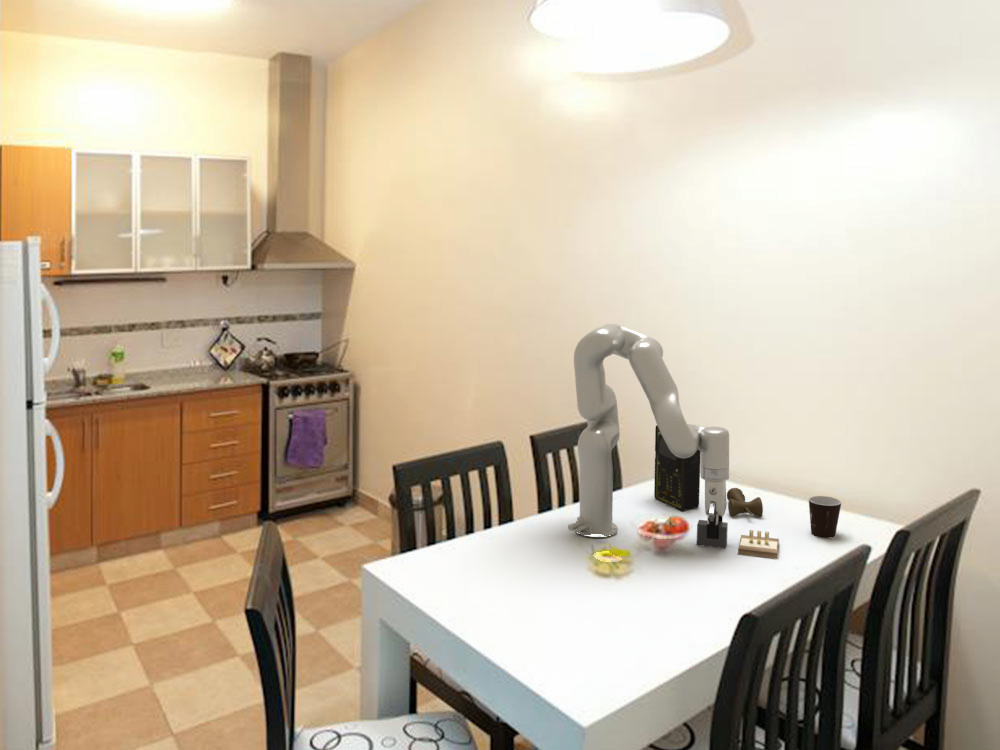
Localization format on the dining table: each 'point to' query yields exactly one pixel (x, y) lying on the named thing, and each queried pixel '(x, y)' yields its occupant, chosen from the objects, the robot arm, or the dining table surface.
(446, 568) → the dining table surface
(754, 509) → the kendama
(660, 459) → the voltmeter
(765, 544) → the pin board
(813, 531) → the coffee mug
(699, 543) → the plug housing
